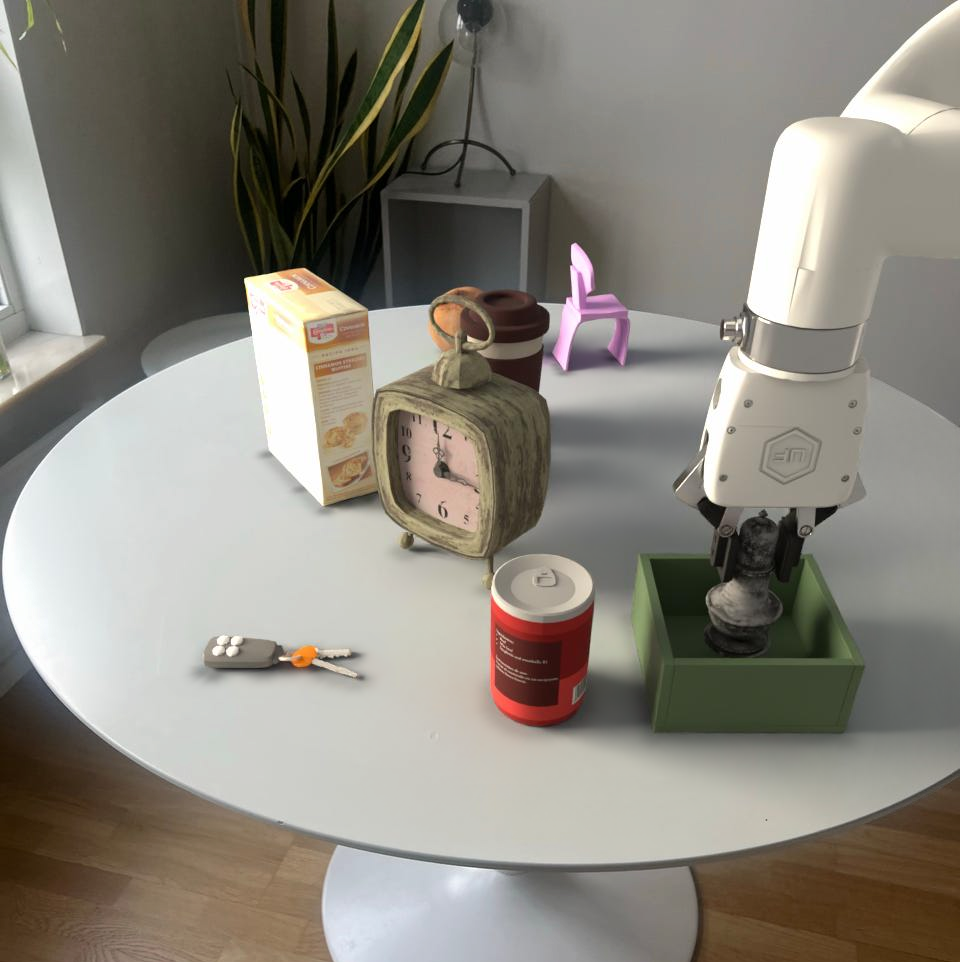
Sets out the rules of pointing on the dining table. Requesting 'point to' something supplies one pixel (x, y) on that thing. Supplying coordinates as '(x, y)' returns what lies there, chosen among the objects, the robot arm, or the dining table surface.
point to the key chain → (265, 654)
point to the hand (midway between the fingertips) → (751, 570)
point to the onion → (451, 316)
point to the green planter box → (742, 681)
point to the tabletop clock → (461, 450)
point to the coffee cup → (510, 334)
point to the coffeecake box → (315, 381)
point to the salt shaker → (746, 595)
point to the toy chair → (589, 311)
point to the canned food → (540, 637)
